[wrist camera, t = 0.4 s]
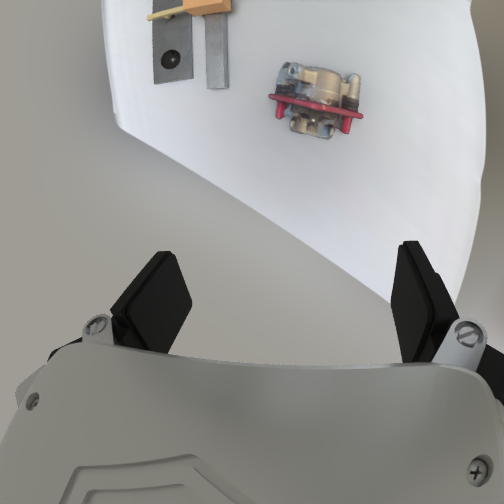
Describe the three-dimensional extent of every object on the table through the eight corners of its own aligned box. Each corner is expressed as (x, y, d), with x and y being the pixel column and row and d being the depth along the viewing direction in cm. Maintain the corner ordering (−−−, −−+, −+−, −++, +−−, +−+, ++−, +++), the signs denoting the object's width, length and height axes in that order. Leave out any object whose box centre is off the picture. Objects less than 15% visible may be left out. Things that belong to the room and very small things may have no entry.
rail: (210, -43, 20) (205, -48, 19) (225, -46, 20) (221, -51, 18) (212, 89, 33) (207, 88, 32) (228, 87, 33) (224, 87, 31)
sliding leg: (154, 12, 26) (136, 5, 22) (232, -5, 24) (221, -16, 20) (153, 28, 28) (135, 23, 23) (232, 12, 25) (221, 2, 21)
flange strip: (157, -33, 22) (154, -35, 21) (192, -43, 20) (189, -46, 20) (157, 84, 34) (153, 84, 33) (193, 78, 33) (190, 77, 32)
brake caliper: (264, 145, 34) (258, 91, 22) (279, 84, 35) (278, 26, 23) (348, 163, 33) (377, 116, 21) (354, 100, 34) (375, 47, 22)
